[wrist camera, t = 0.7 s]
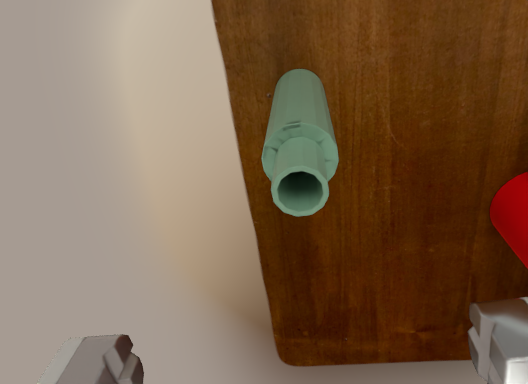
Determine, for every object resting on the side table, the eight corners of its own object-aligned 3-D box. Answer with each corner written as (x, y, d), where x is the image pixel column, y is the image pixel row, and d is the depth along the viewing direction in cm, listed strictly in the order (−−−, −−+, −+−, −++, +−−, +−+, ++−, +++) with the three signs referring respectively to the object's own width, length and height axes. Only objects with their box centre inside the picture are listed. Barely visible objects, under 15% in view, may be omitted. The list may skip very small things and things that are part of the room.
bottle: (270, 73, 36) (247, 158, 19) (320, 64, 35) (339, 143, 19) (279, 120, 38) (265, 234, 21) (326, 112, 37) (349, 223, 21)
